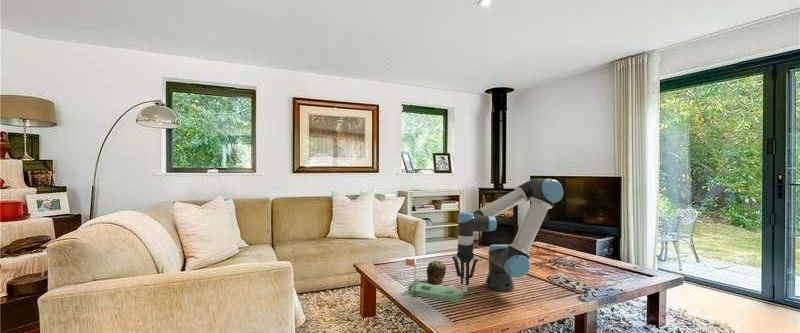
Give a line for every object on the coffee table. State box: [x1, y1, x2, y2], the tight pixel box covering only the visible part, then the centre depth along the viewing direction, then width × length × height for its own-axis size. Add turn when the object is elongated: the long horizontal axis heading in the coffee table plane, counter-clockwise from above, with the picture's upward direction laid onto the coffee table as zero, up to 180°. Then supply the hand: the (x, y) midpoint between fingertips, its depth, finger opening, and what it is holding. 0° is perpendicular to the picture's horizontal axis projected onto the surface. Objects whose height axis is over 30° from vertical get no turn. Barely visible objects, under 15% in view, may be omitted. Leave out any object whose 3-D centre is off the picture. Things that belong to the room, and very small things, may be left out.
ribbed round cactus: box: [426, 260, 447, 285], centre depth 190 cm, size 11×11×12 cm
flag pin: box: [405, 258, 418, 298], centre depth 169 cm, size 6×2×19 cm, turn 65°
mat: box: [408, 278, 465, 303], centre depth 171 cm, size 26×12×4 cm, turn 65°
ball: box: [447, 284, 456, 292], centre depth 168 cm, size 4×4×4 cm
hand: (464, 291), depth 165 cm, fingers closed
